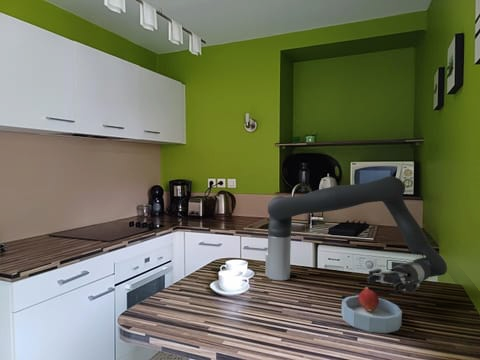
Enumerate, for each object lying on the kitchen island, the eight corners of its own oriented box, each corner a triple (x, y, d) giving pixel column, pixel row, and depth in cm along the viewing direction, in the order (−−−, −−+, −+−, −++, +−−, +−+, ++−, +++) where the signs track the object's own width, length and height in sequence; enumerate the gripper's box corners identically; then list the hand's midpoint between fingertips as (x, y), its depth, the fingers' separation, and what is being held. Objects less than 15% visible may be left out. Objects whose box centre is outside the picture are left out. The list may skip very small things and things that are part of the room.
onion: (363, 317, 100) (360, 294, 107) (382, 315, 98) (378, 291, 104) (357, 307, 98) (354, 283, 104) (377, 304, 95) (373, 281, 101)
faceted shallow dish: (333, 320, 96) (334, 307, 96) (352, 303, 108) (353, 291, 108) (392, 338, 86) (393, 323, 86) (405, 317, 98) (406, 304, 98)
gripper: (387, 258, 115) (360, 266, 106) (430, 268, 104) (404, 278, 94) (386, 279, 115) (360, 289, 106) (429, 292, 104) (403, 304, 94)
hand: (381, 284), depth 100 cm, fingers open, 8 cm apart
